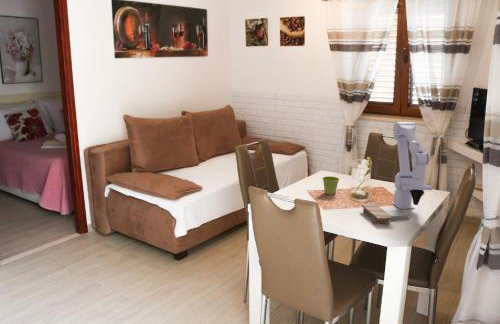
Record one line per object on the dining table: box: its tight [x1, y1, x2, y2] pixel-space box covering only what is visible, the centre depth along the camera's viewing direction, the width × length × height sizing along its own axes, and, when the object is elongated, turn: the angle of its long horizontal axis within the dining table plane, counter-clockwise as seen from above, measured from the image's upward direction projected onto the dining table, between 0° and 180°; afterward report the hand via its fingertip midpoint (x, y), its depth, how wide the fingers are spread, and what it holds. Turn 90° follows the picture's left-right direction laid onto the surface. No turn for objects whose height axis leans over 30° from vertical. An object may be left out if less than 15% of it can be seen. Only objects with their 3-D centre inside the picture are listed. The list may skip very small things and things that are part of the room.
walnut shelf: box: [360, 203, 393, 224], centre depth 218 cm, size 20×8×4 cm, turn 9°
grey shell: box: [383, 209, 410, 221], centre depth 220 cm, size 8×10×2 cm
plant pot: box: [322, 176, 340, 196], centre depth 254 cm, size 9×9×9 cm
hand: (415, 204), depth 220 cm, fingers closed
